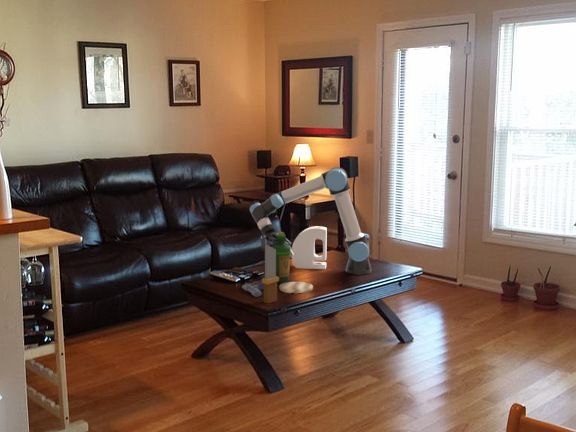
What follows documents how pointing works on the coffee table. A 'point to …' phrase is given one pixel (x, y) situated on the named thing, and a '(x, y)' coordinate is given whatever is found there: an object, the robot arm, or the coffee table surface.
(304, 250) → the bracket
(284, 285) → the serving board
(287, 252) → the bottle
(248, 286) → the toy gun
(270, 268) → the knife
